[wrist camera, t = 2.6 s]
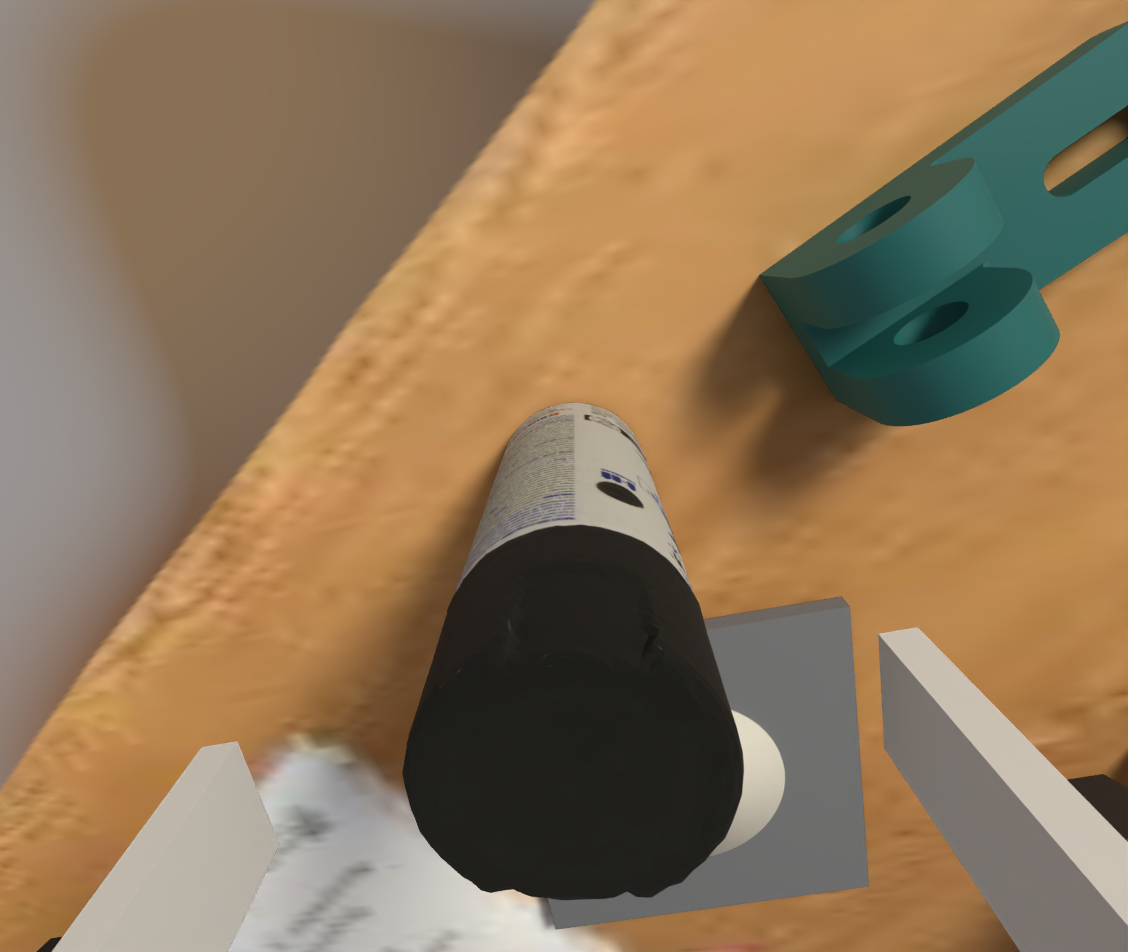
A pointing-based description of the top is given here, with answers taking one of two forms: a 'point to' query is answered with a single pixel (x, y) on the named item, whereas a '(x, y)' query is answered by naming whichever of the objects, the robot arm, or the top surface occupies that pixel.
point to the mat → (775, 769)
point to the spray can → (574, 683)
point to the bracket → (963, 251)
